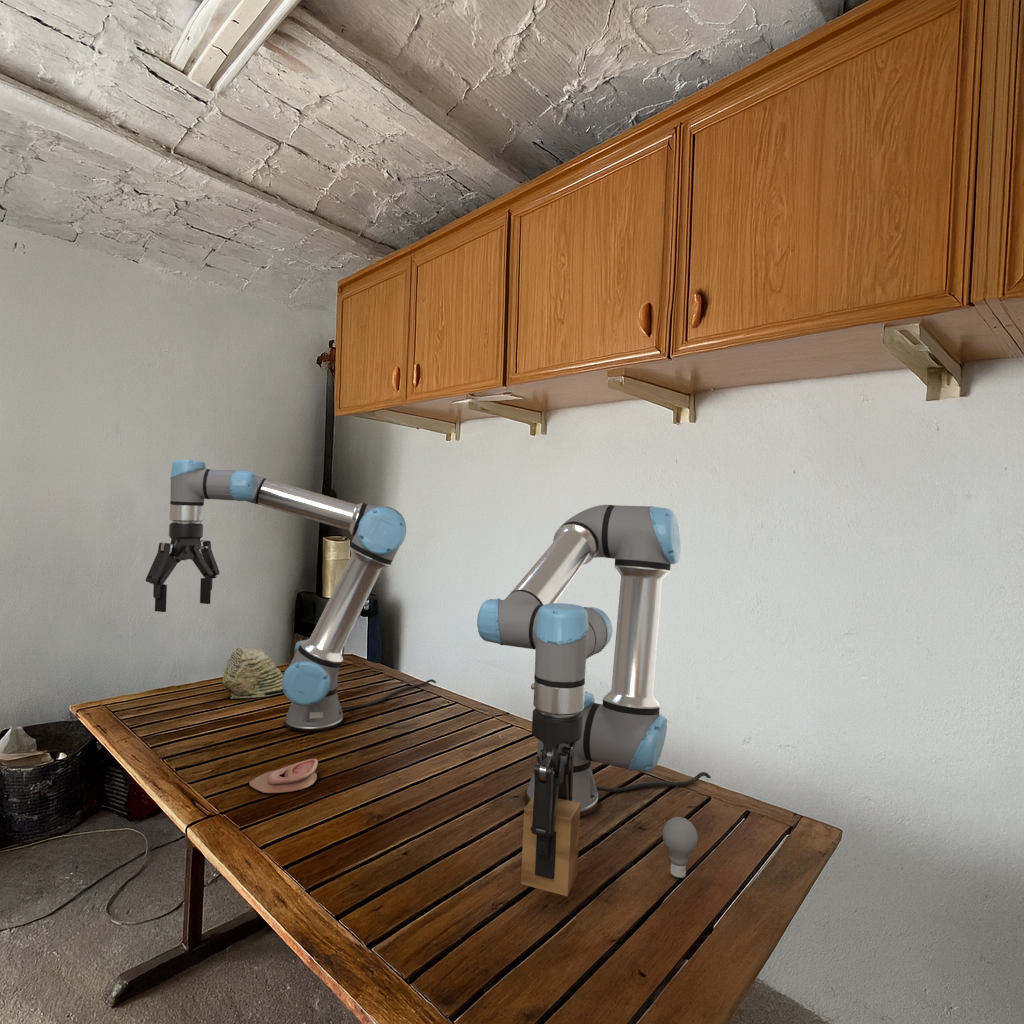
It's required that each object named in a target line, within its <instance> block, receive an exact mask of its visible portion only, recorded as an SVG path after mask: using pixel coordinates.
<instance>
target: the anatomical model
mask: <svg viewBox="0 0 1024 1024" xmlns="http://www.w3.org/2000/svg"><path fill="white" fill-rule="evenodd" d="M318 764H319V761H318V759H317V758H309V759H305V760H302V761H299V762H296V763H293V764H290V765H289V764H288V765H287V766H284V767H281V768H279V769H274V770H271V771H268V772H265V773H263V774H260V775H258V776H256V777H254V778H252V779H251V780H250V781H249V783H248V784H249V785H248V786H250V787H251V788H253V789H254V790H256V791H258V792H261V793H264V794H279V793H289V792H295V791H298V790H303V789H306V788H309V787H311V786H312V785H313V784H315V782H316V781H317V778H318V775H317V773H316V770H317V768H318Z"/></svg>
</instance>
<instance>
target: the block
mask: <svg viewBox="0 0 1024 1024" xmlns="http://www.w3.org/2000/svg"><path fill="white" fill-rule="evenodd" d="M533 803H534V796H533V798H532V799H531V800H530V802H529V803H528V802H527V804H526V806H525V807H524V808H523V825H522V844H521V845H522V847H521V848H522V849H521V867H520V869H521V871H520V885H523V886H527V887H531V888H534V889H537V890H541V891H545V892H549V893H552V894H557V895H560V896H564V897H568V896H569V894H570V892H571V890H572V888H573V885H574V883H575V882H576V879H577V877H578V866H579V865H578V864H579V861H578V860H579V842H580V824H581V823H580V821H581V817H580V803H578V802H574V801H569V800H564V799H560V798H558V801H557V810H556V819H555V827H554V830H555V831H554V832H556V851H555V872H554V878H553V879H549V878H545V877H541V876H537V875H535V862H536V840H537V835H536V834H532V831H531V827H532V821H533Z"/></svg>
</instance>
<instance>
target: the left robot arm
mask: <svg viewBox="0 0 1024 1024" xmlns="http://www.w3.org/2000/svg"><path fill="white" fill-rule="evenodd" d="M169 480H170V501H169V504H170V505H169V521H170V524H168V537H169V538H170V543H169V542H159V543H158V548H157V553H156V555H155V558H154V559H153V562H152V564H151V567H150V569H149V571H148V573H147V575H146V578H145V582H146V583H149V584H151V585H153V587H152V588H153V592H152V596H153V598H154V612H160V613H166V612H167V595H168V594H167V593H168V584H165V583H166V581H167V579H168V578H169V576H170V575H171V574H172V572H173V571H174V569H175V568H176V567H177V565H178V564H179V563H180V562H182V561H187V560H191V561H192V562H193V564H194V565H195V566H196V568H197V569H198V571H199V572H200V574H201V575H202V576H203V577H200V586H199V587H200V589H199V604H202V605H203V604H204V605H211V594H212V590H213V582H214V581H213V579H216V578H217V576H219V575H220V569H219V567H218V564H217V561H216V558H215V555H214V552H213V550H212V542H211V541H210V540H206V539H205V540H203V539H202V538H203V537H204V524H203V523H202V522H203V521H204V517H205V515H204V514H205V513H204V512H205V500H218V501H236V502H247V503H251V504H254V505H258V506H262V507H266V508H269V509H272V510H276V511H279V512H282V513H285V514H286V513H287V514H290V515H293V516H296V517H300V518H304V519H307V520H310V521H313V522H317V523H321V524H324V525H328V526H332V527H333V528H334V527H335V528H338V529H341V530H345V531H348V532H349V533H350V535H351V536H352V537H353V538H352V540H351V541H350V544H349V546H348V548H349V551H350V557H349V558H348V561H347V563H346V564H345V567H344V568H343V571H342V573H341V576H340V577H339V579H338V581H337V583H336V585H335V587H334V589H333V591H332V593H331V595H330V597H329V599H328V602H327V603H326V604H325V607H324V609H323V611H322V613H321V615H320V617H319V619H318V621H317V623H316V625H315V627H314V629H313V631H312V633H311V635H310V637H309V638H308V639H303V640H299V641H297V642H296V643H295V648H294V655H293V658H292V660H291V662H290V664H289V666H288V667H287V668H286V669H285V671H284V672H283V673H282V675H283V679H282V689H283V694H284V696H285V698H286V699H288V701H290V704H289V708H288V711H287V713H286V715H285V726H286V728H287V729H289V730H291V731H294V732H295V731H296V732H301V733H316V732H325V731H329V730H332V729H335V728H337V727H339V726H340V725H342V723H343V722H344V714H343V711H344V710H353V709H354V710H355V709H360V708H364V707H368V706H372V705H376V704H379V703H381V702H383V701H386V700H387V699H389V698H391V697H393V696H395V695H397V694H398V693H401V692H404V691H408V690H410V689H415V688H418V687H423V686H425V685H428V684H430V683H433V684H437V681H436V680H435V679H431V678H430V679H428V680H426V681H424V682H422V683H417V684H413V685H409V686H406V687H403V688H400V689H398V690H396V691H394V692H391V693H389V694H387V695H386V696H384V697H381V698H380V699H377V700H375V701H371V702H367V703H362V704H356V705H351V706H341V702H340V699H339V695H338V682H339V681H338V680H339V679H338V677H339V670H340V668H341V666H342V664H343V661H344V657H343V654H342V650H343V649H344V646H345V644H346V642H347V640H348V638H349V636H350V635H351V632H352V631H353V628H354V627H355V624H356V622H357V620H358V618H359V616H360V614H361V612H362V610H363V608H364V606H365V604H366V602H367V600H368V598H369V597H370V594H371V592H372V590H373V588H374V586H375V584H376V582H377V580H378V578H379V576H380V574H381V572H382V570H383V569H385V568H388V567H390V566H391V565H392V563H393V561H394V559H395V557H396V555H397V553H398V551H399V549H400V547H401V546H402V545H403V543H404V541H405V539H406V535H407V523H406V520H405V518H404V517H403V515H402V514H401V513H400V512H399V511H398V510H397V509H395V508H393V507H390V506H379V505H374V504H369V503H365V502H360V503H357V504H356V503H352V502H349V501H345V500H342V499H339V498H336V497H332V496H328V495H325V494H322V493H318V492H315V491H311V490H309V489H304V488H302V487H297V486H294V485H291V484H288V483H284V482H281V481H277V480H274V479H270V478H267V477H264V476H260V475H257V474H255V473H254V472H253V471H247V470H240V469H237V470H233V469H209V468H207V467H206V463H205V461H202V460H191V459H176V460H174V461H173V462H172V464H171V472H170V478H169Z"/></svg>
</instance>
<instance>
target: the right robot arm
mask: <svg viewBox="0 0 1024 1024" xmlns="http://www.w3.org/2000/svg"><path fill="white" fill-rule="evenodd" d="M680 554H681V533H680V527H679V521H678V518H677V516H676V514H675V512H674V511H673V510H672V509H670V508H667V507H659V506H653V505H649V506H648V505H621V504H620V505H616V504H600V505H595V506H592V507H589V508H586V509H584V510H582V511H580V512H578V513H577V514H575V515H573V516H572V517H570V518H569V519H567V520H566V521H565V522H563V523H562V524H561V525H560V527H559V528H558V529H556V531H555V532H554V535H553V540H552V543H551V544H550V545H549V547H548V548H547V549H546V550H545V552H544V553H543V554H542V555H541V556H540V558H538V560H537V561H536V562H535V563H534V564H533V566H532V567H531V568H530V569H529V570H528V571H527V573H526V574H525V575H524V576H523V577H522V579H521V580H520V581H519V583H517V585H516V586H515V587H514V588H513V589H512V591H511V592H510V593H509V594H507V596H506V597H505V599H501V598H499V597H498V598H489V599H486V600H485V601H484V602H482V604H481V606H480V608H479V610H478V613H477V618H476V626H477V633H478V635H479V637H480V638H481V639H482V640H483V641H484V642H489V643H493V644H497V645H500V646H507V647H514V648H521V649H528V650H535V655H534V656H535V657H534V677H533V678H534V682H533V683H531V684H530V689H531V690H532V691H533V704H532V705H533V707H534V708H533V710H532V716H531V733H532V735H533V736H534V738H535V739H537V749H536V750H537V751H536V764H535V765H534V767H533V773H532V775H531V777H530V780H529V783H528V786H527V789H526V802H527V804H528V803H529V802H530V800H531V799H532V798H533V796H534V803H533V821H532V827H531V831H532V834H536V835H537V840H536V862H535V875H537V876H541V877H545V878H549V879H553V878H554V872H555V851H556V832H554V831H555V830H554V827H555V819H556V810H557V801H558V798H560V799H564V800H569V801H574V802H578V803H580V818H582V817H586V816H588V815H590V814H592V813H593V812H595V811H596V810H597V808H598V805H599V793H598V792H599V791H600V792H601V791H602V792H608V793H622V792H628V791H633V790H637V789H643V788H650V787H684V786H688V785H691V784H694V783H695V782H697V781H698V780H699V779H701V778H702V777H706V779H711V778H712V777H711V775H710V774H709V773H707V772H705V771H701V772H699V773H698V774H697V775H695V776H694V777H692V778H691V779H689V780H683V781H654V782H653V781H651V782H643V783H637V784H631V785H627V786H622V787H607V786H601V785H600V786H599V785H596V782H595V779H594V774H593V771H592V762H593V763H594V762H595V763H598V764H602V765H607V766H612V767H616V768H621V769H625V770H628V771H629V772H632V771H633V772H640V773H650V772H652V771H654V770H655V768H656V767H657V765H658V763H659V761H660V758H661V756H662V752H663V749H664V745H665V741H666V737H667V731H668V718H667V716H665V715H664V714H662V713H660V711H661V710H660V708H661V704H660V703H659V702H658V700H657V699H656V698H655V696H654V686H655V674H656V664H657V663H656V662H657V661H656V660H657V651H658V649H657V648H658V637H659V636H658V634H659V621H660V612H661V611H660V610H661V598H662V585H663V580H664V578H665V577H666V576H668V575H669V574H670V573H671V565H676V564H678V563H679V561H680V558H681V557H680V556H681V555H680ZM595 558H604V559H605V558H606V559H612V560H613V559H614V568H615V569H616V571H617V572H618V574H619V576H620V581H619V582H620V583H619V592H618V606H617V615H616V627H615V629H616V630H615V639H614V650H613V651H614V652H613V664H612V665H613V666H612V675H611V676H612V677H611V688H610V691H608V692H607V693H606V694H605V695H604V696H603V697H602V703H597V702H595V701H596V699H595V696H594V694H593V693H591V692H589V691H586V690H585V689H586V667H587V660H588V659H589V658H591V657H593V656H595V655H597V654H599V653H601V652H602V651H603V650H604V649H605V647H607V646H608V644H609V643H610V641H611V640H612V636H613V625H612V621H611V619H610V617H609V615H608V614H607V613H606V612H605V611H603V610H602V609H600V608H597V607H595V606H581V605H579V604H573V603H563V602H559V603H558V602H557V601H558V599H559V598H560V597H561V595H562V594H563V592H564V591H565V590H566V588H568V586H569V584H570V583H571V581H572V580H573V579H574V577H575V576H576V575H577V573H578V572H579V570H580V569H581V568H582V566H585V565H587V564H589V563H590V562H591V561H593V559H595ZM694 779H695V780H694Z"/></svg>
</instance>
